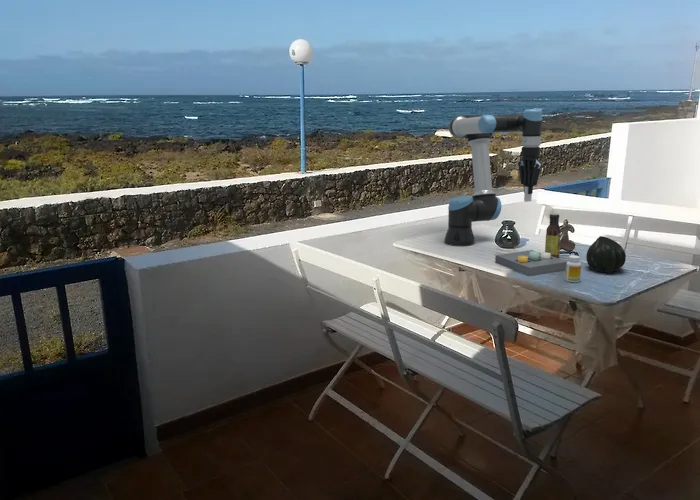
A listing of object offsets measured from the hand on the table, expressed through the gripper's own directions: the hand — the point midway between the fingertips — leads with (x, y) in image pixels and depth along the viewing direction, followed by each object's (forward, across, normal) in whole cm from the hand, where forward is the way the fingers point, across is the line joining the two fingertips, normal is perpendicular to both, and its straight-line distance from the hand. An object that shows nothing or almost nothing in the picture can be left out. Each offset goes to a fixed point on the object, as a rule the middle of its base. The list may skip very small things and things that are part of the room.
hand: (527, 201), depth 231 cm
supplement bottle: (+27, +33, -4) cm, 43 cm away
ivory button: (+25, +12, +1) cm, 28 cm away
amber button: (+25, +12, -11) cm, 30 cm away
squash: (+27, +28, +18) cm, 43 cm away
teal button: (+24, +12, -5) cm, 27 cm away
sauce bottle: (+27, +3, +13) cm, 30 cm away
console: (+26, +10, -5) cm, 29 cm away
